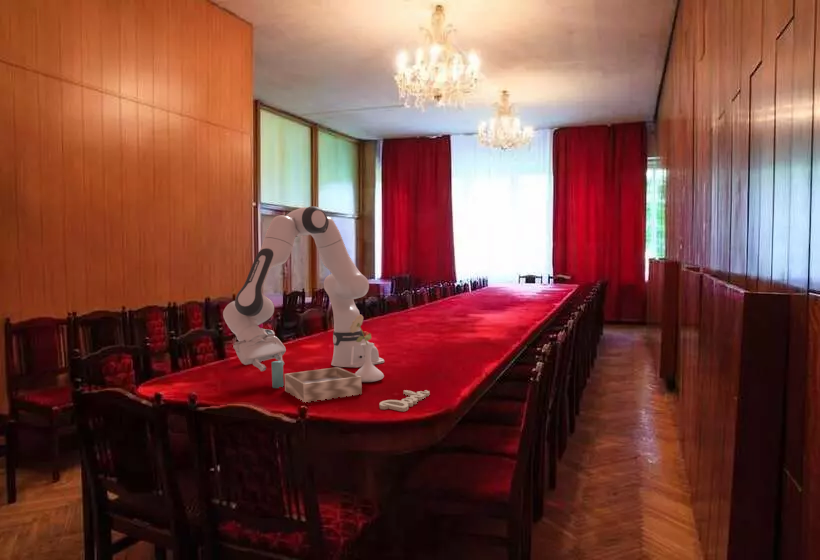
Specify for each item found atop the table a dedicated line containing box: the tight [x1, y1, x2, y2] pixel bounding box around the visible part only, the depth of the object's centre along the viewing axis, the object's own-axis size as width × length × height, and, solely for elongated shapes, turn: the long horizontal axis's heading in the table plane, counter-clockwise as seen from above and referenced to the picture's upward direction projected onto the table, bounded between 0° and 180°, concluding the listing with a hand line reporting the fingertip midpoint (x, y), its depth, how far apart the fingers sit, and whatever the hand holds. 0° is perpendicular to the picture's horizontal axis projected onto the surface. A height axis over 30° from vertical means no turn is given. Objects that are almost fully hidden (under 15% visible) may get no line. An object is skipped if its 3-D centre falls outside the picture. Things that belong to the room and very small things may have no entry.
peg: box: [270, 360, 285, 389], centre depth 219 cm, size 4×4×9 cm
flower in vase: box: [349, 314, 385, 383], centre depth 224 cm, size 13×11×25 cm
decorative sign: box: [379, 389, 431, 412], centre depth 195 cm, size 23×2×10 cm
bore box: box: [284, 366, 363, 404], centre depth 209 cm, size 20×20×6 cm
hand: (273, 367), depth 220 cm, fingers open, 8 cm apart
